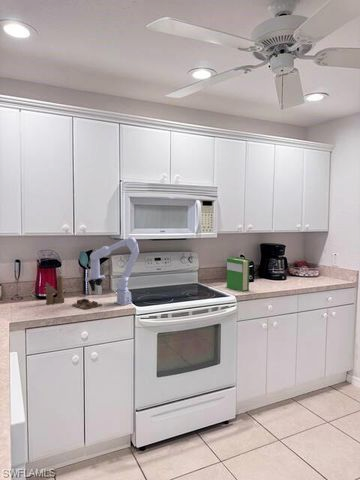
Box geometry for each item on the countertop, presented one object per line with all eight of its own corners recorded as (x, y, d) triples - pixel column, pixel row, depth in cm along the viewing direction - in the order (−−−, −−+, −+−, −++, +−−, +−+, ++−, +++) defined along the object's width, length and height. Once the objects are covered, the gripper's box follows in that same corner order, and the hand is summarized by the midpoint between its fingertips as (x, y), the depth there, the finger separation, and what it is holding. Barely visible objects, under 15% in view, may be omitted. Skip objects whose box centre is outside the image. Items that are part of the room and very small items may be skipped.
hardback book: (248, 290, 271) (249, 260, 270) (241, 291, 267) (242, 260, 266) (233, 286, 286) (233, 257, 284) (226, 287, 282) (227, 258, 280)
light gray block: (101, 293, 228) (101, 286, 227) (98, 294, 225) (98, 286, 225) (92, 291, 234) (92, 284, 234) (89, 292, 232) (88, 284, 232)
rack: (101, 305, 223) (101, 301, 223) (85, 309, 214) (85, 304, 213) (88, 302, 232) (88, 297, 232) (72, 305, 223) (72, 301, 223)
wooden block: (46, 303, 227) (45, 276, 226) (62, 301, 233) (62, 275, 232) (47, 305, 224) (47, 277, 223) (64, 302, 230) (64, 275, 229)
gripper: (100, 268, 237) (100, 287, 238) (82, 270, 226) (82, 291, 227) (107, 269, 232) (107, 289, 233) (88, 271, 221) (88, 292, 222)
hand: (95, 290), depth 230 cm, fingers closed on light gray block, 3 cm apart
